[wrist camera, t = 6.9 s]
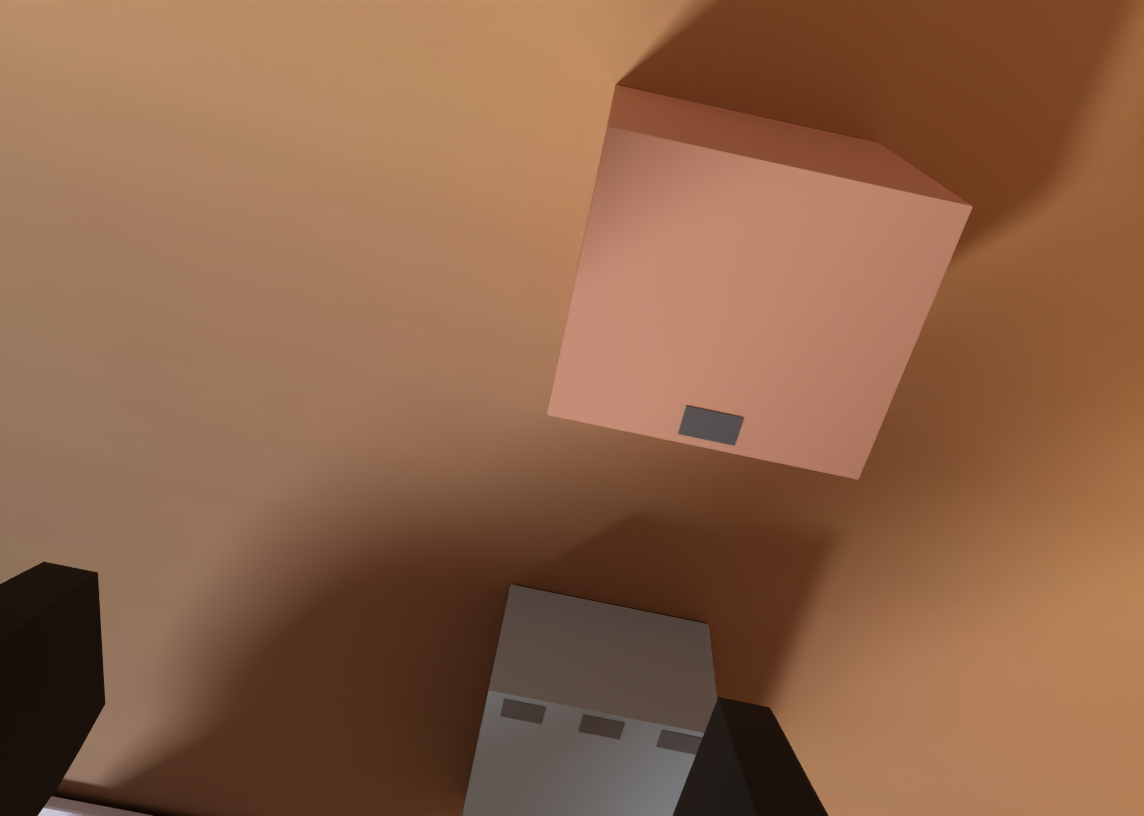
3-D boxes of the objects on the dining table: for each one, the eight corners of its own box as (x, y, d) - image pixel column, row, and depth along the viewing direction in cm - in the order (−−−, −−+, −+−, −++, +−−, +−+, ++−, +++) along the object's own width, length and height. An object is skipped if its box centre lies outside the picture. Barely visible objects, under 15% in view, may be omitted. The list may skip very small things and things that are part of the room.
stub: (802, 354, 18) (858, 480, 13) (569, 304, 18) (546, 415, 13) (877, 142, 16) (973, 207, 11) (615, 84, 16) (607, 127, 11)
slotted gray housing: (634, 832, 25) (634, 956, 22) (465, 799, 25) (440, 919, 21) (709, 624, 21) (721, 736, 18) (510, 584, 21) (488, 690, 18)
